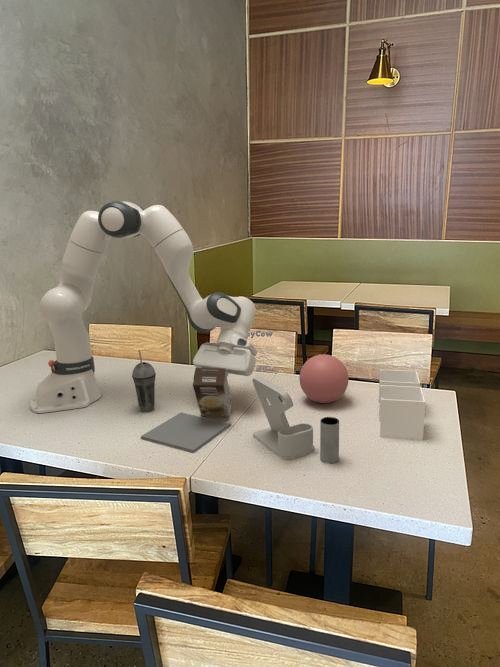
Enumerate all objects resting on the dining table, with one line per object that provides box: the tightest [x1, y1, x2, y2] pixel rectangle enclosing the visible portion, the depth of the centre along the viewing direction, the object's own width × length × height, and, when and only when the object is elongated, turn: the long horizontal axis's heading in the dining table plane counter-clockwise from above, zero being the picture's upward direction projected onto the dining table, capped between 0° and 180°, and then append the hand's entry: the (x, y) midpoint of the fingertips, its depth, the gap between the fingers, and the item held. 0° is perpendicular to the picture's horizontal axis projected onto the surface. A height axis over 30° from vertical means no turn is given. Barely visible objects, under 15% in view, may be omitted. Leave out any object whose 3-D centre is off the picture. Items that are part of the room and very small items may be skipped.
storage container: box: [378, 368, 426, 441], centre depth 142 cm, size 25×11×11 cm, turn 166°
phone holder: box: [251, 375, 316, 461], centre depth 129 cm, size 17×10×18 cm, turn 29°
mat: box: [140, 412, 232, 454], centre depth 139 cm, size 18×18×1 cm
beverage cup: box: [131, 349, 157, 413], centre depth 153 cm, size 7×7×20 cm
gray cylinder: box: [319, 416, 340, 464], centre depth 120 cm, size 4×4×10 cm
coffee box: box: [192, 367, 232, 418], centre depth 145 cm, size 9×6×16 cm
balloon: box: [298, 353, 349, 404], centre depth 158 cm, size 15×20×15 cm
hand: (215, 383), depth 148 cm, fingers closed
